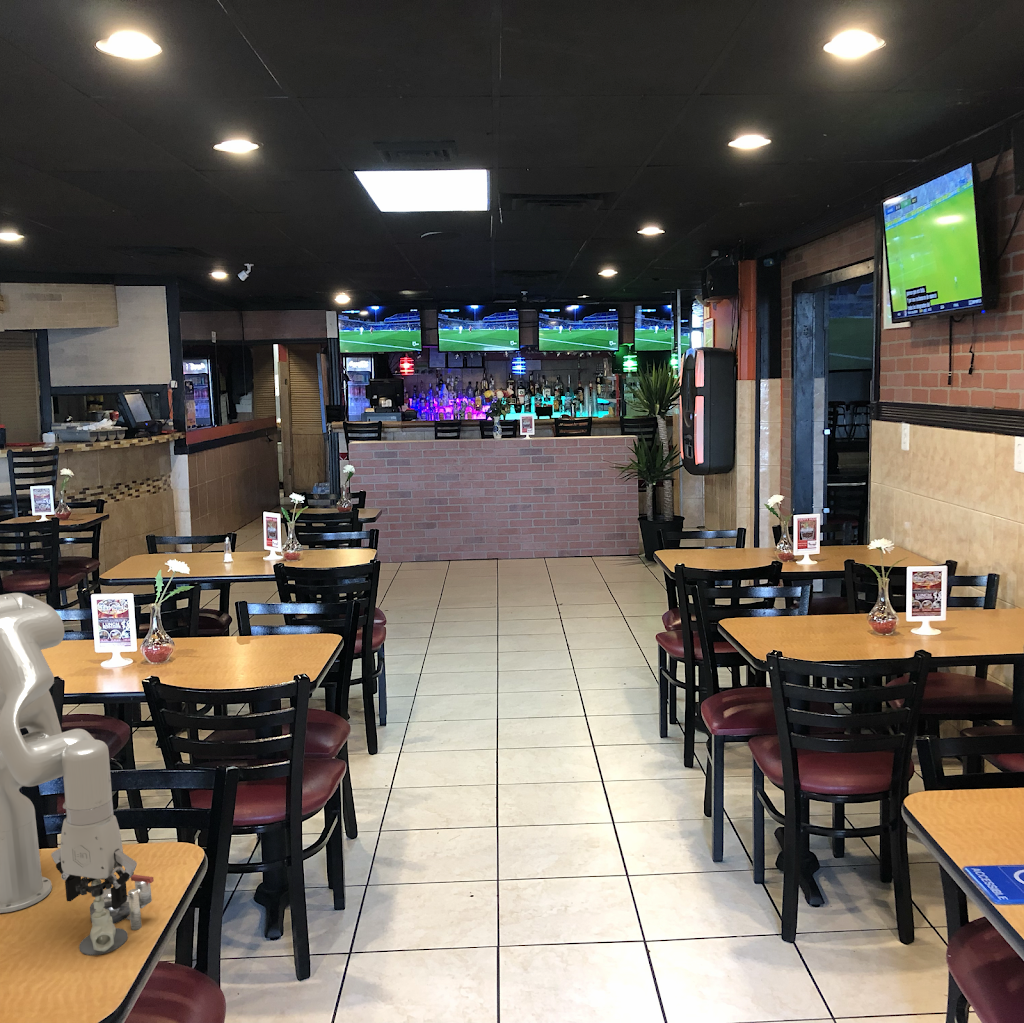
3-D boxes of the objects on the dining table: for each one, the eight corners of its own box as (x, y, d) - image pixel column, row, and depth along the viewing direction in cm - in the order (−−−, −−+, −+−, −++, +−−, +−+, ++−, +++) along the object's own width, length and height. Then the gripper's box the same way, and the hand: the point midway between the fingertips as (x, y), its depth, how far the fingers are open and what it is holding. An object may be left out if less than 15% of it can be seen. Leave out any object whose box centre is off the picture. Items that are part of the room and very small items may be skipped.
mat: (69, 952, 165) (69, 950, 165) (100, 927, 172) (100, 925, 172) (107, 957, 162) (106, 955, 162) (137, 932, 170) (137, 930, 170)
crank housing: (82, 923, 174) (78, 888, 173) (108, 904, 181) (105, 869, 180) (136, 930, 171) (133, 894, 170) (161, 910, 177) (157, 875, 176)
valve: (84, 959, 162) (75, 894, 160) (84, 940, 168) (75, 877, 166) (124, 947, 164) (116, 883, 163) (123, 929, 170) (115, 867, 169)
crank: (95, 905, 175) (92, 875, 174) (108, 895, 178) (105, 866, 178) (148, 913, 171) (145, 882, 171) (161, 903, 175) (158, 873, 174)
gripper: (33, 814, 164) (41, 905, 166) (116, 826, 159) (123, 919, 161) (64, 796, 171) (72, 884, 173) (145, 807, 166) (151, 896, 168)
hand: (96, 901), depth 167 cm, fingers open, 9 cm apart
